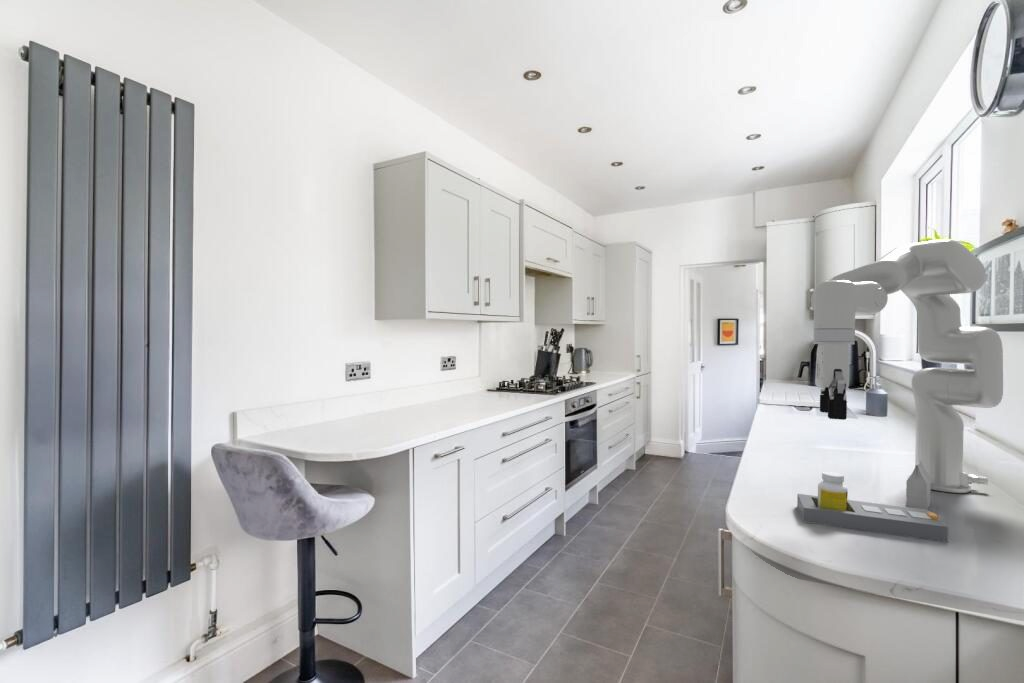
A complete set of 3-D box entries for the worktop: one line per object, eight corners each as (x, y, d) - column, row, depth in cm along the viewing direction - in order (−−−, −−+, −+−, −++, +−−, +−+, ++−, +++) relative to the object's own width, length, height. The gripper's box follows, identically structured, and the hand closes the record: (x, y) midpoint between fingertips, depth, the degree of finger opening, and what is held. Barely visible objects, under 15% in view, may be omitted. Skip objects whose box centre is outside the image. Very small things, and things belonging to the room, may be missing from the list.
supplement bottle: (852, 524, 100) (852, 478, 100) (823, 521, 101) (824, 476, 101) (839, 514, 106) (840, 471, 106) (813, 512, 107) (813, 469, 107)
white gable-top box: (930, 503, 113) (931, 461, 113) (926, 510, 109) (927, 467, 109) (910, 499, 116) (911, 458, 116) (906, 506, 111) (906, 463, 111)
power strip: (927, 523, 101) (928, 506, 101) (947, 542, 92) (948, 523, 91) (797, 506, 111) (797, 491, 111) (803, 521, 101) (803, 504, 101)
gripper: (807, 337, 113) (806, 409, 113) (820, 337, 97) (819, 420, 97) (845, 337, 110) (844, 411, 110) (864, 337, 94) (863, 423, 94)
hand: (832, 415), depth 103 cm, fingers open, 9 cm apart
